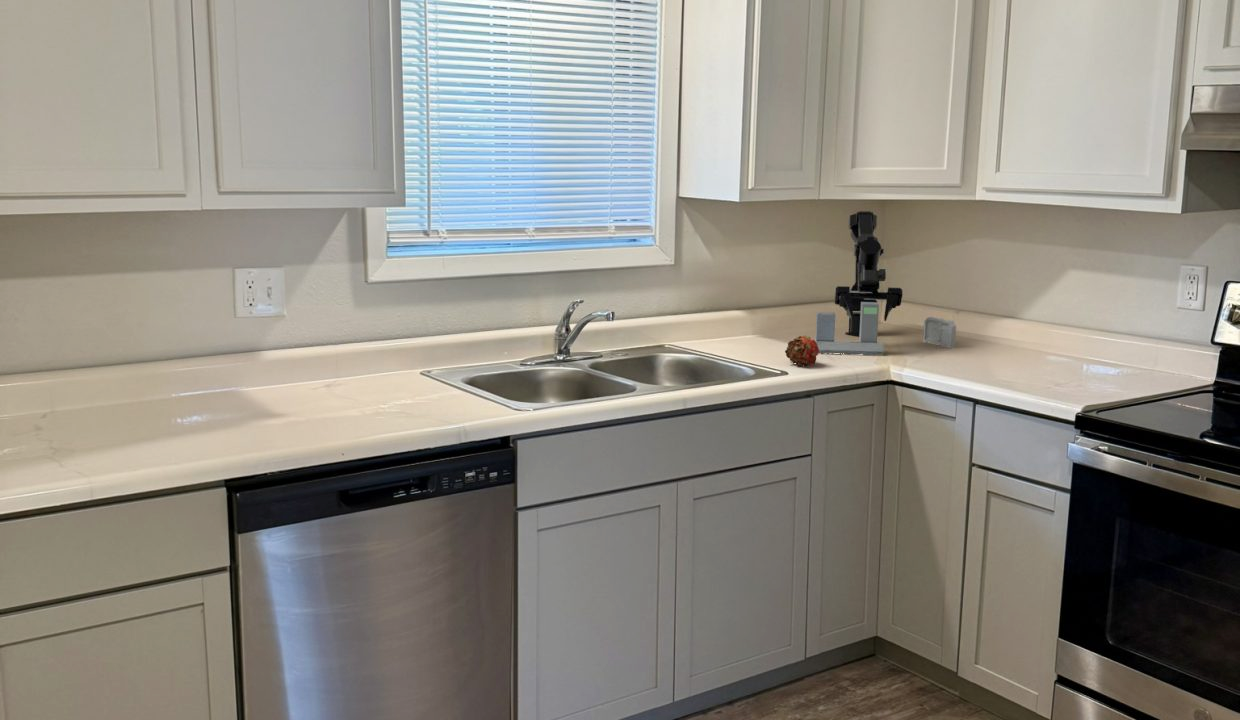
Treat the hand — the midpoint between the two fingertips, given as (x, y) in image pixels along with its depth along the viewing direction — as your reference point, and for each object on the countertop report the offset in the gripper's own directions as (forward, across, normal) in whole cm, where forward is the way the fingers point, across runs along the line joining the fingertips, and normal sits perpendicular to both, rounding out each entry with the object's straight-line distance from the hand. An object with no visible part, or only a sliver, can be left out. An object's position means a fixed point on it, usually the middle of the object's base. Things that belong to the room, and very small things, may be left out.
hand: (868, 319), depth 312 cm
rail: (+8, -5, +5) cm, 11 cm away
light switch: (-5, +22, +19) cm, 30 cm away
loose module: (+7, 0, +5) cm, 8 cm away
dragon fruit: (+22, -19, -9) cm, 31 cm away
